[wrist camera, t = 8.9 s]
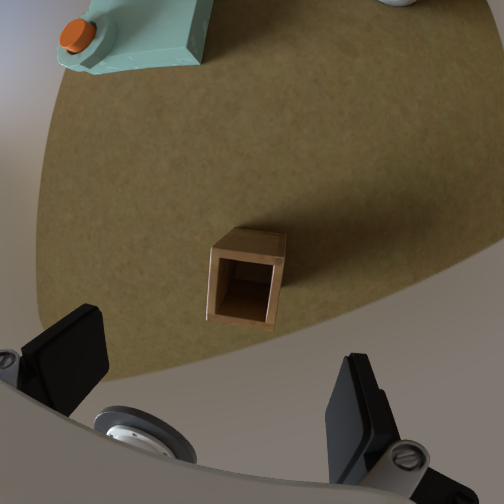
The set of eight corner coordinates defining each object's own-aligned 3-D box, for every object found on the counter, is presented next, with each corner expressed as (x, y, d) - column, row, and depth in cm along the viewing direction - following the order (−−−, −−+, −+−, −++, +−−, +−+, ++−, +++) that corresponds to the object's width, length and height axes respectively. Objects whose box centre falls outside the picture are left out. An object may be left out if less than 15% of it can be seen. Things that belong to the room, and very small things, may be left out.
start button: (91, 49, 18) (79, 43, 16) (67, 55, 18) (55, 50, 16) (99, 21, 17) (88, 14, 15) (75, 28, 17) (64, 22, 16)
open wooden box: (278, 288, 27) (273, 331, 19) (228, 281, 27) (205, 320, 19) (286, 233, 25) (285, 257, 18) (234, 226, 26) (210, 247, 18)
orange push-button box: (199, 74, 23) (176, 49, 17) (86, 84, 24) (50, 71, 18) (220, -27, 20) (206, -60, 14) (113, -9, 21) (87, -31, 15)
